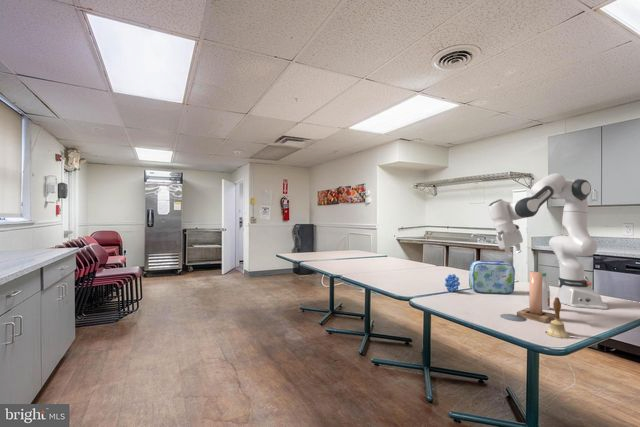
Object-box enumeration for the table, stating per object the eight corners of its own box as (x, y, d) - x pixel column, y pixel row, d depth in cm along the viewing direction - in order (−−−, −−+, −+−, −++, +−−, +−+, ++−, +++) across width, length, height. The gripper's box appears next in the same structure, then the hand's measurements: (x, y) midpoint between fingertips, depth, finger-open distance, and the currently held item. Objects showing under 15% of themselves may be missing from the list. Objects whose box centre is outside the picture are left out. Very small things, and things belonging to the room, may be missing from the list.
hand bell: (570, 340, 125) (570, 301, 125) (545, 335, 131) (545, 298, 130) (569, 334, 132) (569, 297, 132) (545, 329, 137) (545, 294, 137)
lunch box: (509, 291, 205) (509, 259, 205) (516, 295, 195) (516, 262, 195) (467, 289, 210) (468, 258, 210) (473, 293, 199) (473, 261, 199)
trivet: (525, 317, 152) (525, 315, 152) (528, 325, 142) (528, 322, 142) (499, 314, 157) (499, 312, 157) (500, 321, 147) (500, 319, 147)
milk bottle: (544, 312, 161) (545, 274, 161) (529, 308, 168) (529, 271, 168) (552, 310, 164) (552, 273, 164) (537, 306, 171) (537, 270, 171)
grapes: (464, 293, 199) (464, 274, 199) (456, 294, 196) (457, 275, 196) (449, 289, 209) (449, 271, 209) (442, 290, 206) (442, 272, 206)
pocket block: (527, 313, 159) (527, 307, 159) (555, 320, 149) (555, 314, 149) (516, 318, 152) (516, 312, 152) (545, 325, 142) (545, 318, 142)
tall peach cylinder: (541, 316, 152) (541, 272, 152) (543, 319, 147) (543, 273, 147) (528, 314, 154) (528, 271, 154) (530, 317, 149) (530, 272, 149)
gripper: (502, 231, 156) (512, 257, 154) (520, 225, 167) (529, 249, 165) (490, 233, 161) (499, 259, 159) (508, 228, 173) (517, 251, 170)
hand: (515, 254), depth 162 cm, fingers open, 8 cm apart
